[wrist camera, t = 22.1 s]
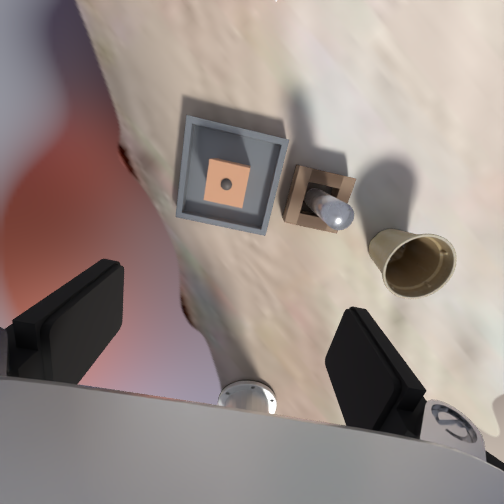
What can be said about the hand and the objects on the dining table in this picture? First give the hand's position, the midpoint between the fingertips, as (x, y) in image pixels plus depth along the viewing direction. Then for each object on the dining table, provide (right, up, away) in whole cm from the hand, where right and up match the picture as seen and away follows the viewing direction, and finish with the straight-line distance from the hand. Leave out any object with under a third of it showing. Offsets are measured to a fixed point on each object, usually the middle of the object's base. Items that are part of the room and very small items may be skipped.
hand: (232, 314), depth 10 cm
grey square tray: (-2, +13, +27) cm, 30 cm away
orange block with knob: (-2, +13, +26) cm, 29 cm away
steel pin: (+10, +11, +28) cm, 31 cm away
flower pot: (+23, +4, +31) cm, 39 cm away
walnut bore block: (+10, +11, +28) cm, 31 cm away
